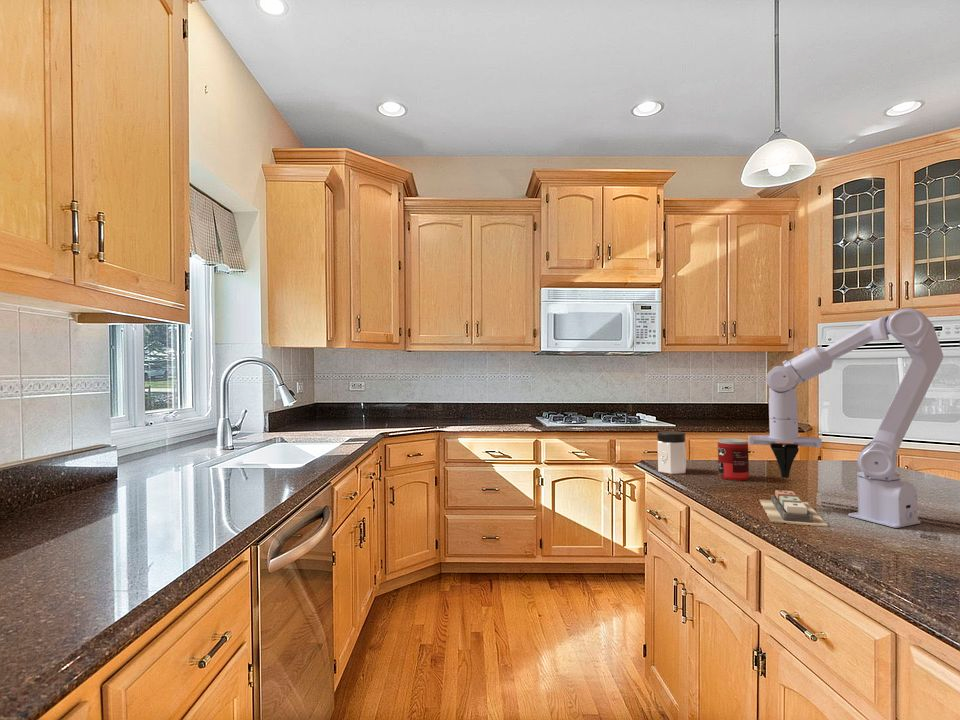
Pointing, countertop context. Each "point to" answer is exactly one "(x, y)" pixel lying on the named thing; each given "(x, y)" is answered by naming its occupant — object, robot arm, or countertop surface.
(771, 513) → the key board
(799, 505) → the key one
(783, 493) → the key three
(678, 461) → the jar
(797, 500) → the key two
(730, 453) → the canned food
